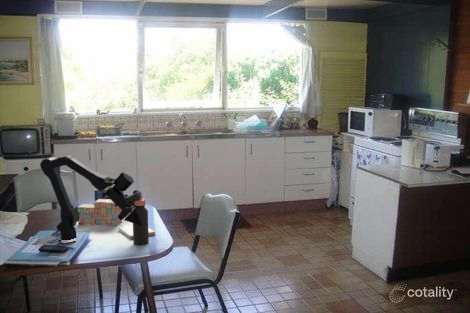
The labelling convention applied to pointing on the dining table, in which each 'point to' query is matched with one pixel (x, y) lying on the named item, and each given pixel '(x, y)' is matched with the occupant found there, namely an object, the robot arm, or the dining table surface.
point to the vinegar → (142, 231)
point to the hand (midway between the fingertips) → (143, 222)
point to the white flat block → (129, 231)
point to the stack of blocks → (99, 213)
